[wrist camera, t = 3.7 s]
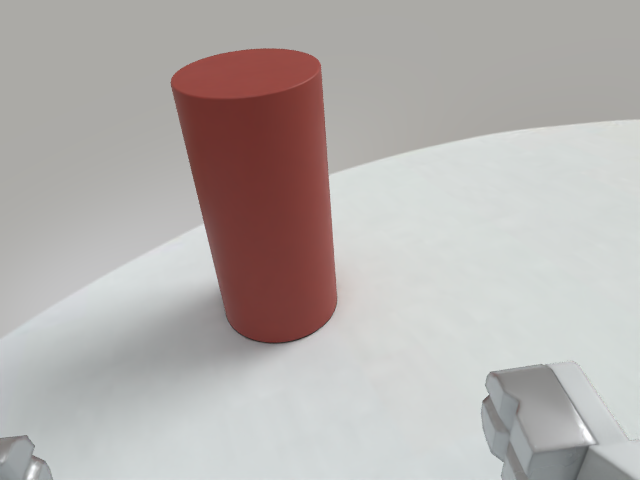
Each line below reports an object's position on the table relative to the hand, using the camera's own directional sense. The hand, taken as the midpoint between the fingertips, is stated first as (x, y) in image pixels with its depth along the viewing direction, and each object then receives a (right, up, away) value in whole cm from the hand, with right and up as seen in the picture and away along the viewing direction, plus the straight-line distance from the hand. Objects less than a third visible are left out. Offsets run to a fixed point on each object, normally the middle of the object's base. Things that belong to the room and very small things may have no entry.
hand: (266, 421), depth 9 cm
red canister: (-1, +1, +13) cm, 13 cm away
